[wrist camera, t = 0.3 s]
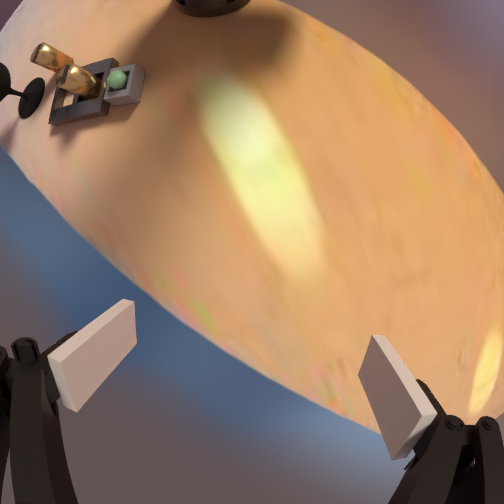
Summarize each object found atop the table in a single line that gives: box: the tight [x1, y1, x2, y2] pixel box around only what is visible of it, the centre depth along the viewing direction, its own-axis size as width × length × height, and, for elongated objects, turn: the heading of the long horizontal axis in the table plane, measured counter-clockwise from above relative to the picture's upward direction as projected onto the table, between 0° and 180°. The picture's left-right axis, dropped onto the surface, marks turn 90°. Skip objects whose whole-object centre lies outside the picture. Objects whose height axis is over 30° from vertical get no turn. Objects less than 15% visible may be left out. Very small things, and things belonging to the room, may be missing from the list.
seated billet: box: [56, 63, 102, 100], centre depth 32 cm, size 4×4×10 cm
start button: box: [107, 70, 128, 90], centre depth 32 cm, size 3×3×2 cm
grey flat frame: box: [48, 58, 119, 126], centre depth 36 cm, size 11×14×2 cm
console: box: [104, 63, 145, 106], centre depth 35 cm, size 6×5×4 cm
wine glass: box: [0, 63, 45, 118], centre depth 28 cm, size 10×10×20 cm
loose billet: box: [30, 42, 73, 74], centre depth 31 cm, size 4×4×10 cm
